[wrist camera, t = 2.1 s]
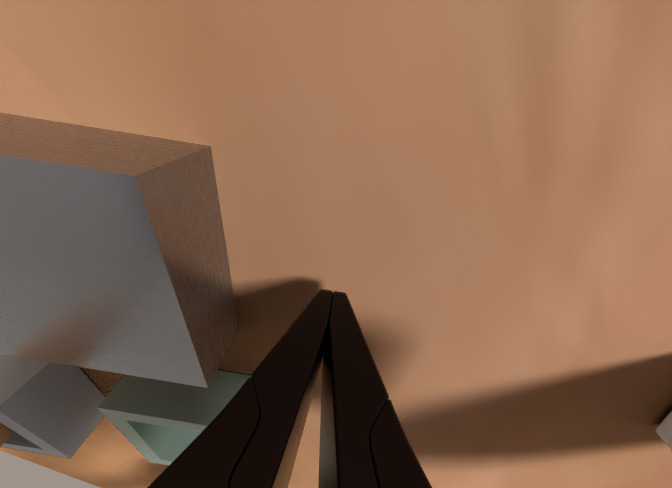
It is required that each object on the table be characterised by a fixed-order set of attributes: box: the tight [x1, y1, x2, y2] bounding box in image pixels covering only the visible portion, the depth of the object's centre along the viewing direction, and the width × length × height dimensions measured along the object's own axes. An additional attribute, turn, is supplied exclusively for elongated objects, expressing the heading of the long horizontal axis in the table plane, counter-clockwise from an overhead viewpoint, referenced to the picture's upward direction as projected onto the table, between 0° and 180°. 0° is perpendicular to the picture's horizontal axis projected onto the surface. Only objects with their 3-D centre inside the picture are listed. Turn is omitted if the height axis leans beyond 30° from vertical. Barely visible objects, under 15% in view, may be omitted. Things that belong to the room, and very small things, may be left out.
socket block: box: [0, 354, 105, 458], centre depth 14 cm, size 7×7×3 cm
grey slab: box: [0, 113, 238, 388], centre depth 8 cm, size 8×8×3 cm
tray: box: [97, 370, 252, 465], centre depth 14 cm, size 8×8×2 cm
